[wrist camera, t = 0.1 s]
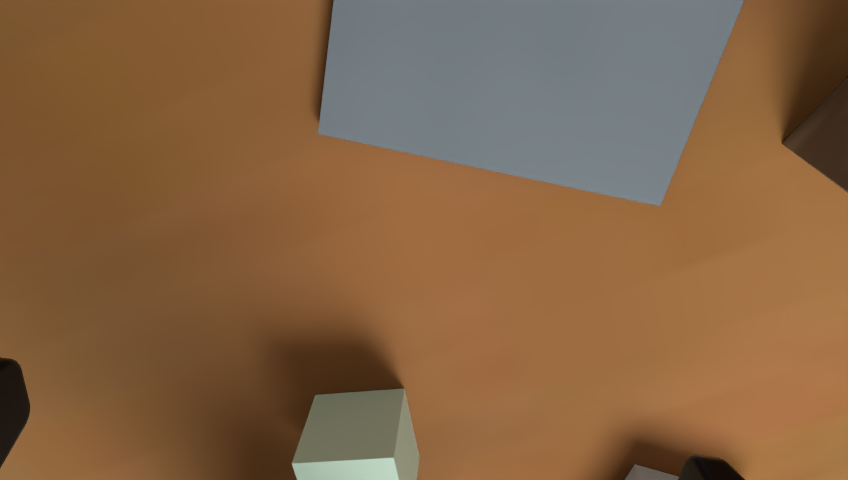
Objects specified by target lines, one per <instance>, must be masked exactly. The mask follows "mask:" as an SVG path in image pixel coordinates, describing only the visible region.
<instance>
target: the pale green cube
mask: <svg viewBox="0 0 848 480" xmlns="http://www.w3.org/2000/svg"><path fill="white" fill-rule="evenodd" d="M418 465H419V453H418V448H417V443H416V439H415V434H414V430H413V425H412V420H411V416H410V411H409V406H408V402H407V397H406V393H405V388H404V389H390V390H376V391H362V392H349V393H335V394H321V395H315V397H314V400H313V403H312V406H311V409H310V412H309V415H308V418H307V421H306V423H305V426H304V429H303V432H302V435H301V438H300V441H299V444H298V447H297V449H296V452H295V455H294V458H293V461H292V466H293V469H294V472H295V475H296V478H297V480H417V474H418Z"/></svg>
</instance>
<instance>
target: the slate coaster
mask: <svg viewBox="0 0 848 480" xmlns="http://www.w3.org/2000/svg"><path fill="white" fill-rule="evenodd" d="M743 2H744V0H334V2H333V11H332V19H331V28H330V36H329V44H328V53H327V61H326V70H325V78H324V87H323V95H322V104H321V112H320V121H319V129H318V134H321V135H325V136H330V137H335V138H340V139H344V140H349V141H354V142H358V143H363V144H368V145H373V146H377V147H382V148H387V149H392V150H396V151H401V152H406V153H410V154H415V155H420V156H425V157H429V158H434V159H439V160H443V161H448V162H453V163H458V164H462V165H467V166H472V167H477V168H481V169H486V170H491V171H495V172H500V173H505V174H510V175H514V176H519V177H524V178H529V179H533V180H538V181H543V182H547V183H552V184H557V185H562V186H566V187H571V188H576V189H581V190H585V191H590V192H595V193H599V194H604V195H609V196H614V197H618V198H623V199H628V200H633V201H637V202H642V203H647V204H651V205H656V206H661V203H662V201H663V198H664V196H665V193H666V191H667V188H668V186H669V183H670V181H671V179H672V176H673V174H674V171H675V169H676V166H677V164H678V161H679V159H680V156H681V154H682V152H683V149H684V147H685V144H686V142H687V139H688V137H689V134H690V132H691V129H692V127H693V125H694V122H695V120H696V117H697V115H698V112H699V110H700V107H701V105H702V103H703V100H704V98H705V95H706V93H707V90H708V88H709V85H710V83H711V80H712V78H713V76H714V73H715V71H716V68H717V66H718V63H719V61H720V58H721V56H722V53H723V51H724V49H725V46H726V44H727V41H728V39H729V36H730V34H731V31H732V29H733V26H734V24H735V22H736V19H737V17H738V14H739V12H740V9H741V7H742V4H743Z"/></svg>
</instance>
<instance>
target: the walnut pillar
mask: <svg viewBox="0 0 848 480" xmlns="http://www.w3.org/2000/svg"><path fill="white" fill-rule="evenodd" d="M782 144H783V145H784V146H786V147H787V148H788V149H790V150H791V151H792V152H794V153H795V154H796V155H798V156H799V157H800V158H802V159H803V160H804V161H806V162H807V163H808V164H810V165H811V166H812V167H814V168H815V169H816V170H818V171H819V172H820V173H822V174H823V175H824V176H826V177H827V178H828V179H830V180H831V181H832V182H834V183H835V184H836V185H838V186H839V187H840V188H842V189H843V190H844V191H846V192H847V193H848V77H847V78H846V79H845V80H844V81H843V82H842V83H841V84H840V85H839V86H838V87H837V88H836V89H835V90H834V91H833V92H832V93H831V94H830V95H829V96H828V97H827V98H826V99H825V100H824V101H823V102H822V103H821V104H820V105H819V106H818V107H817V108H816V109H815V110H814V111H813V112H812V113H811V114H810V115H809V116H808V117H807V118H806V119H805V120H804V121H803V122H802V123H801V124H800V125H799V126H798V127H797V128H796V129H795V130H794V131H793V133H792V134H791V135H790V136H789V137H788V138H787V139H786V140H785V141H784V142H783V143H782Z"/></svg>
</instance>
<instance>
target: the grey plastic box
mask: <svg viewBox="0 0 848 480" xmlns="http://www.w3.org/2000/svg"><path fill="white" fill-rule="evenodd" d="M678 478H679V477H678V476H675V475H671V474H668V473H664V472H661V471H657V470H653V469H650V468H646V467H643V466H639V465H636V464H635V465H634V466H633V468H632V469H631V471H630V473H629V474H628V476H627V477H626V479H625V480H678Z"/></svg>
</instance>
